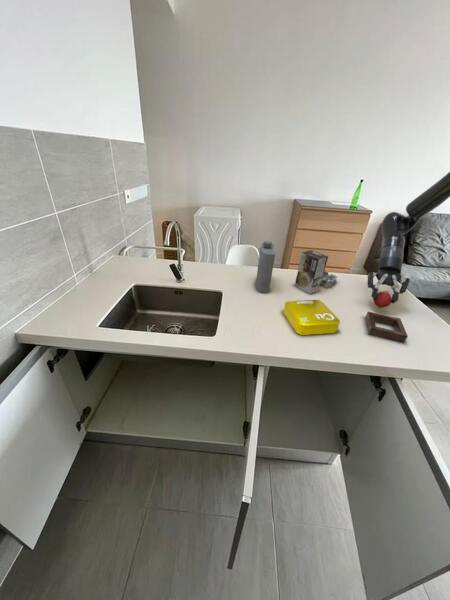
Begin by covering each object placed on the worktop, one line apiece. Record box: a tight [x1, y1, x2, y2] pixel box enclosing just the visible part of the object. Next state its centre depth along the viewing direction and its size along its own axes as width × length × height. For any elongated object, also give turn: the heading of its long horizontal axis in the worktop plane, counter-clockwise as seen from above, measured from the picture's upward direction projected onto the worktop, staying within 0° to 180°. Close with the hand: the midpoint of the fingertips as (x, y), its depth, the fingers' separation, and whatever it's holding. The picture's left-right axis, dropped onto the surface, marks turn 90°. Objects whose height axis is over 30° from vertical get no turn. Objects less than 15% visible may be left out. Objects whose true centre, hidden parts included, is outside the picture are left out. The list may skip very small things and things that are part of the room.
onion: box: [372, 289, 392, 309], centre depth 93 cm, size 6×6×8 cm
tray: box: [364, 311, 408, 344], centre depth 84 cm, size 11×11×3 cm
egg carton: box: [320, 269, 338, 288], centre depth 114 cm, size 11×8×4 cm
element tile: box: [283, 299, 341, 336], centre depth 86 cm, size 15×15×5 cm
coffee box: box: [294, 249, 329, 295], centre depth 105 cm, size 9×6×16 cm
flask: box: [255, 240, 276, 294], centre depth 105 cm, size 15×6×20 cm, turn 174°
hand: (384, 300), depth 91 cm, fingers closed on onion, 5 cm apart
